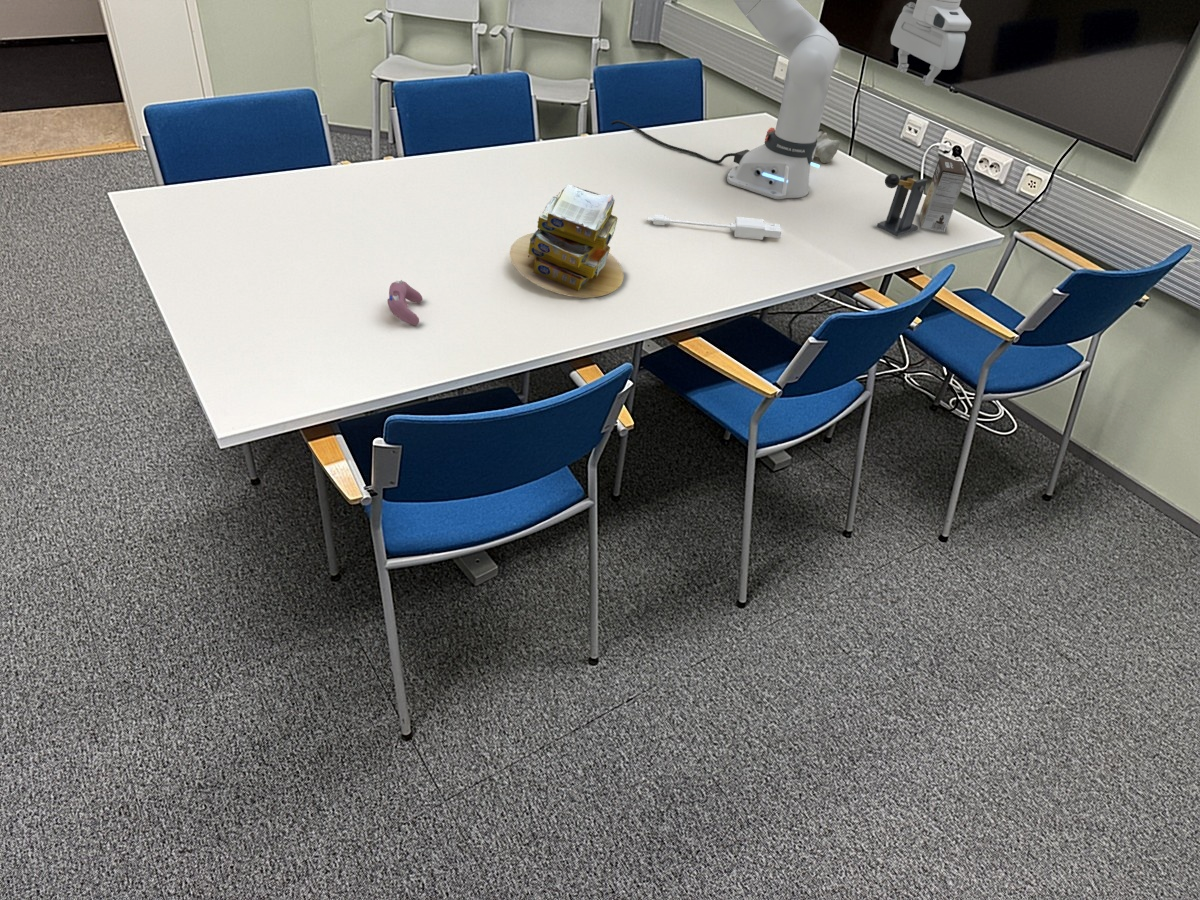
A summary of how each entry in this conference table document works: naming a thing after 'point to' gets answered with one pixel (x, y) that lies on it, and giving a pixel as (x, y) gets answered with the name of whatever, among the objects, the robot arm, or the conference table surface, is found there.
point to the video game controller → (403, 301)
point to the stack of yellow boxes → (571, 246)
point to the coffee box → (942, 194)
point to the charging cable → (733, 226)
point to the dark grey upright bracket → (904, 224)
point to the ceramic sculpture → (825, 147)
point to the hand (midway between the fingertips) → (913, 78)
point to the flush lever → (898, 181)
